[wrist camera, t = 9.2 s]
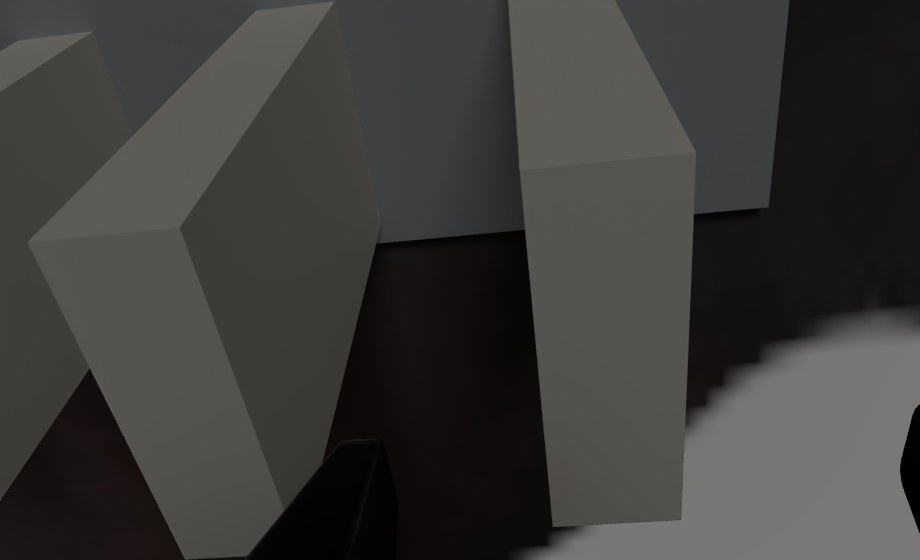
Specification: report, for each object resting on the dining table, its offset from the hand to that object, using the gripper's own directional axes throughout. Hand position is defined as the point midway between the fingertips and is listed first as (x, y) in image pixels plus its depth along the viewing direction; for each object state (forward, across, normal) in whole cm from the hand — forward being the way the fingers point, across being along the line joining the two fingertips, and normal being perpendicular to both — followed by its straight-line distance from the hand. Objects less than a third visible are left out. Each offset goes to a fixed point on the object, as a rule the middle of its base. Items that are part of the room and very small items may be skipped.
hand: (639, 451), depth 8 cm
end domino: (+10, 0, 0) cm, 10 cm away
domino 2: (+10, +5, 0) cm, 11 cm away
